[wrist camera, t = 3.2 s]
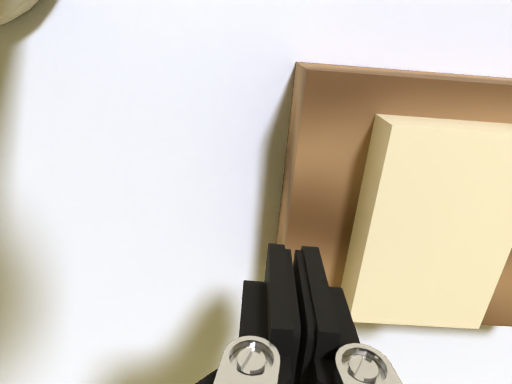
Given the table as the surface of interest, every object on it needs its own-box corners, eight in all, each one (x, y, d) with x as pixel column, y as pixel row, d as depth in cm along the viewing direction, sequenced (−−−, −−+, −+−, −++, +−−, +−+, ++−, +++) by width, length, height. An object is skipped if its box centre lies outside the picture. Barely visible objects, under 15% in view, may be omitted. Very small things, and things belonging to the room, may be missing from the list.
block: (375, 113, 15) (392, 125, 13) (520, 124, 15) (556, 137, 13) (339, 293, 19) (348, 321, 17) (456, 299, 19) (478, 329, 17)
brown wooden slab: (296, 61, 18) (306, 69, 14) (614, 86, 18) (704, 99, 15) (273, 267, 23) (277, 313, 19) (527, 282, 23) (578, 330, 20)
